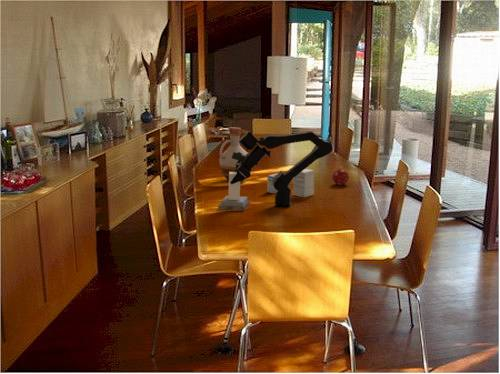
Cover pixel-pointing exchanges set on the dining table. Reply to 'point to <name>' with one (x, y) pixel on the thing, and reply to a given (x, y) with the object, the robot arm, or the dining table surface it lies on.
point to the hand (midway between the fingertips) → (230, 181)
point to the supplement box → (304, 183)
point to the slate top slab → (234, 201)
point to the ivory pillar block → (233, 188)
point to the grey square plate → (234, 207)
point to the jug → (230, 152)
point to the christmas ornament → (340, 176)
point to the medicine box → (271, 184)
